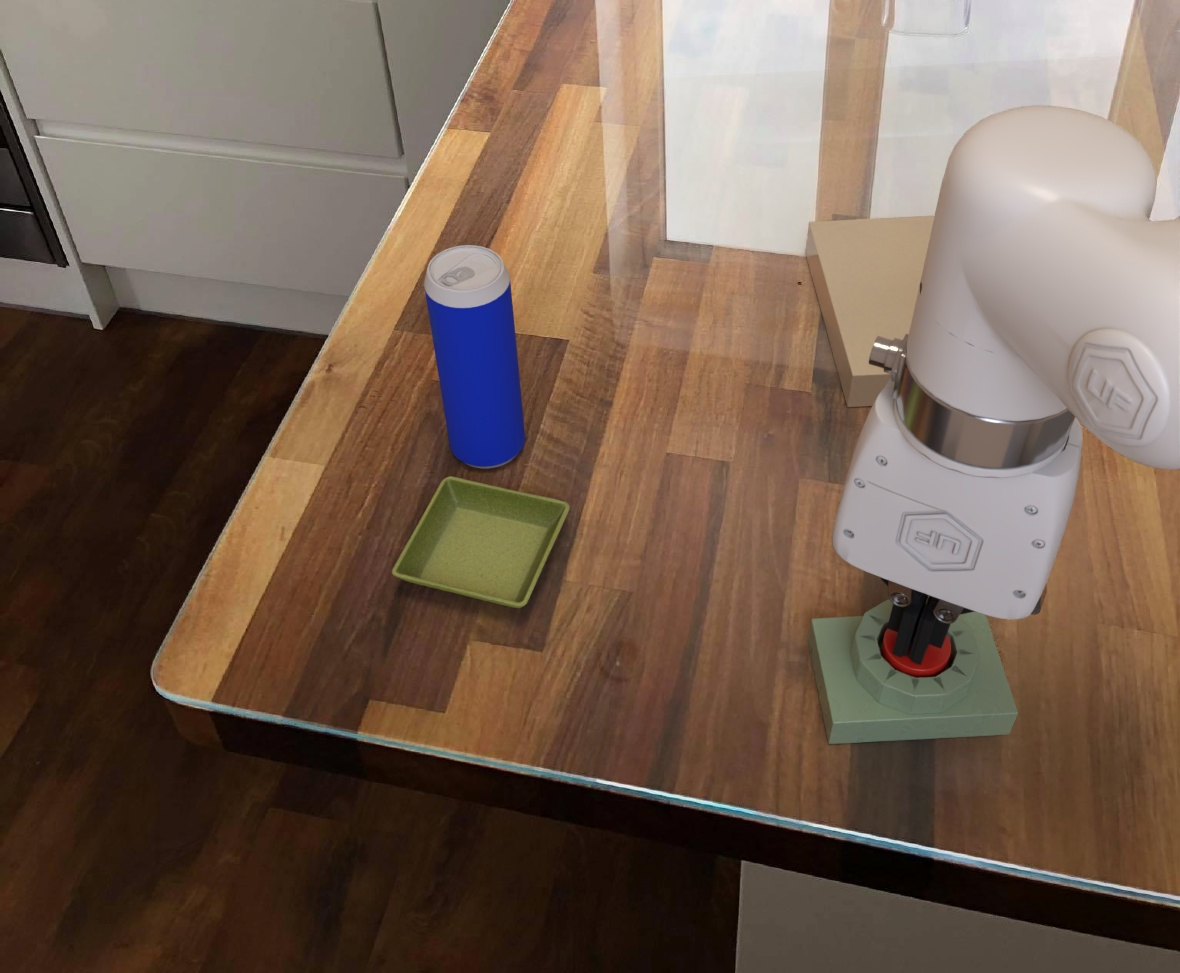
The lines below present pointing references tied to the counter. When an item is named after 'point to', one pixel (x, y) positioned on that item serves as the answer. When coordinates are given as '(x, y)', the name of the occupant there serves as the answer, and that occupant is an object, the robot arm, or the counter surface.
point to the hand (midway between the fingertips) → (914, 639)
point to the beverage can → (476, 354)
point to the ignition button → (929, 667)
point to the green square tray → (482, 541)
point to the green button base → (907, 683)
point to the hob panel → (866, 290)
